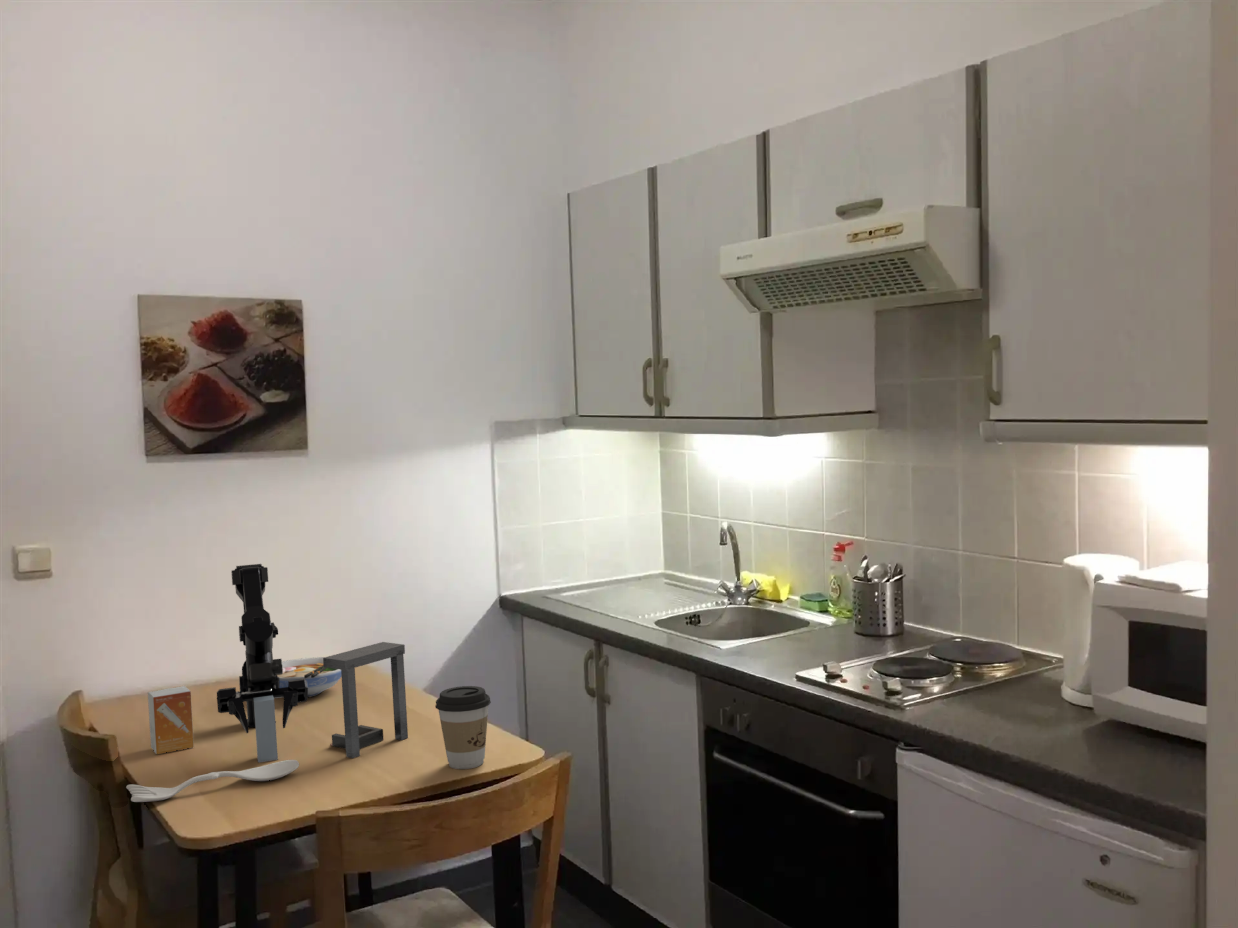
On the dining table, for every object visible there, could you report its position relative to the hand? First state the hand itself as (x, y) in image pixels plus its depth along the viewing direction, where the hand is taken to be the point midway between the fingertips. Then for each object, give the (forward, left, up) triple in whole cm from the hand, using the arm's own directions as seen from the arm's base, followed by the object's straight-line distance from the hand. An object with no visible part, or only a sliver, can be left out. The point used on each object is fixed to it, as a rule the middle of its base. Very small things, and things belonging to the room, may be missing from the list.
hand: (265, 729), depth 233 cm
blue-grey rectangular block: (-1, 0, -7) cm, 7 cm away
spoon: (+13, -11, -7) cm, 19 cm away
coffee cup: (+26, +36, -7) cm, 45 cm away
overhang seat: (0, +20, -7) cm, 21 cm away
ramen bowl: (-53, +16, -7) cm, 56 cm away
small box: (-21, -18, -7) cm, 29 cm away
